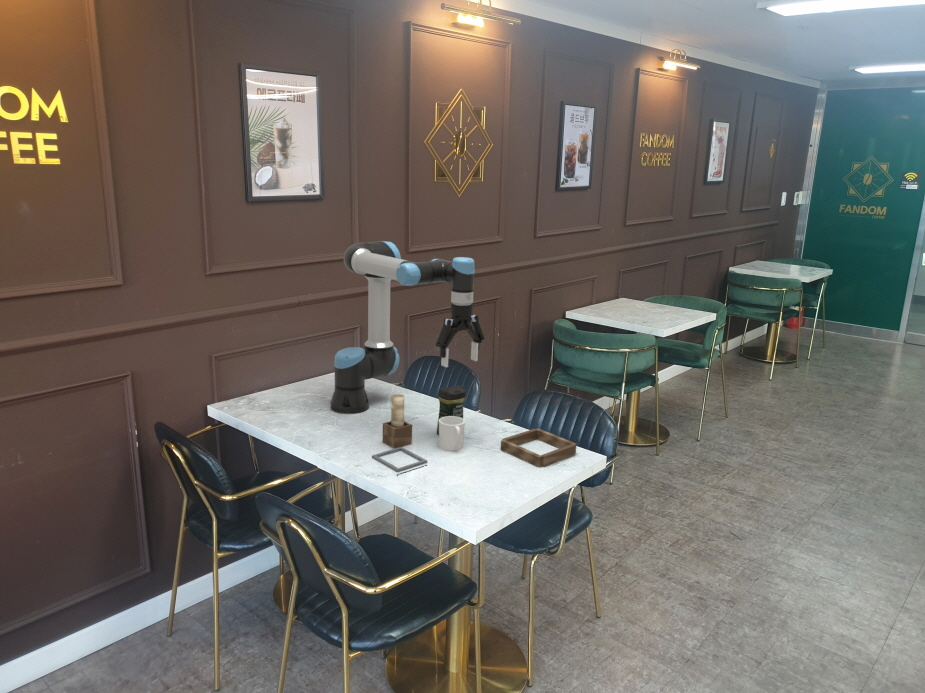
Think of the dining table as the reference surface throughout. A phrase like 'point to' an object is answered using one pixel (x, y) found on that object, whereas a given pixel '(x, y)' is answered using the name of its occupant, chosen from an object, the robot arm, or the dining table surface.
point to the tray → (421, 461)
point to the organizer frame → (535, 459)
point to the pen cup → (397, 435)
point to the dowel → (397, 410)
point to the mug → (451, 433)
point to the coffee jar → (451, 402)
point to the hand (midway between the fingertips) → (459, 363)
